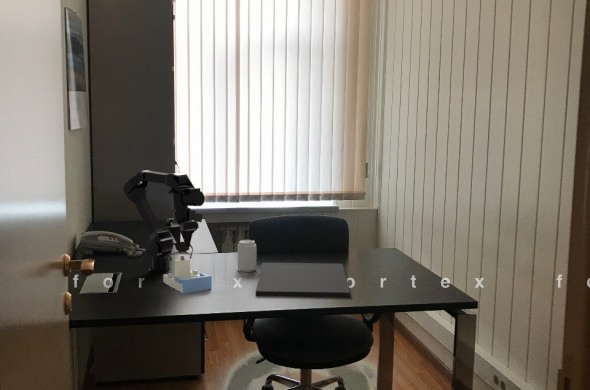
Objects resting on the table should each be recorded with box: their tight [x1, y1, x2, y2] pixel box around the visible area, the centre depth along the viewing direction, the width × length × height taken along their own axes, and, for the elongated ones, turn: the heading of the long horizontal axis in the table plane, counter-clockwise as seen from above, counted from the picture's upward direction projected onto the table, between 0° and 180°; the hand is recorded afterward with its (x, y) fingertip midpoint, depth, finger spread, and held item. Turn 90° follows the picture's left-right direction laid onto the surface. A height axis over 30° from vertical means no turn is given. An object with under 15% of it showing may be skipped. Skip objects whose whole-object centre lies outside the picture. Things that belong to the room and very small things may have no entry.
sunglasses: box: [167, 241, 194, 261], centre depth 276 cm, size 14×16×5 cm
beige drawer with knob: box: [174, 255, 191, 279], centre depth 233 cm, size 4×4×10 cm
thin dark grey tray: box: [255, 262, 351, 299], centre depth 239 cm, size 40×2×33 cm
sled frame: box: [162, 269, 213, 295], centre depth 230 cm, size 18×11×5 cm, turn 35°
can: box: [237, 239, 257, 273], centre depth 253 cm, size 8×8×12 cm
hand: (183, 245), depth 243 cm, fingers open, 9 cm apart
